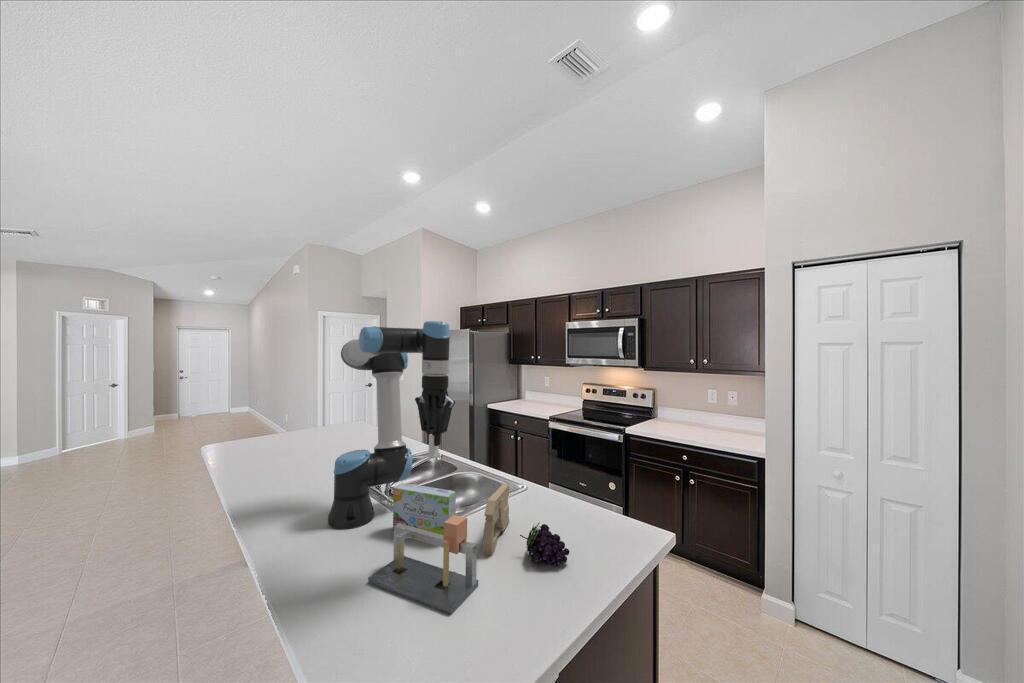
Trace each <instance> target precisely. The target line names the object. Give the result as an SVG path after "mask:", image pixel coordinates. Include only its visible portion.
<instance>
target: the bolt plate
mask: <svg viewBox="0 0 1024 683" xmlns="http://www.w3.org/2000/svg"><path fill="white" fill-rule="evenodd" d="M367 578H368V579H367V583H368V584H369V585H371V586H374V587H377V588H380V589H382V590H384V591H387V592H389V593H392V594H395V595H397V596H400V597H403V598H404V599H405V598H406V599H408V600H410V601H413V602H415V603H418V604H421V605H424V606H426V607H429V608H431V609H433V610H437V611H439V612H442V613H443V614H447V615H449V616H452V615H453V613H455V611H457V610H458V608H459V607H460V606H461V605H462V604H463V603H464V602H465V601H466V600H467V599H468V597H470V596H471V594H473V592H474V591H475V590H476V589H477V588H478V587H479V579H477V578H476V583H475V584H474V585H473V586H469V585H466V584H465V579H466V575H464V574H460V573H458V572H455V571H451V570H449V585H448V586H447V587H445V586H443V567H439V566H436V565H433V564H429V563H426V562H425V561H421V560H417V559H415V558H412V557H407V556H405V555H404V559H402V574H400V575H398V574H397V561H394V560H392V561H390V562H388V563H387V564H386V565H384V566H383V567H381V568H379V570H376V572H374V573H372V574H371V575H369V576H368V577H367ZM440 587H441V588H444V589H440Z"/></svg>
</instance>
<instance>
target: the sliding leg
mask: <svg viewBox="0 0 1024 683" xmlns="http://www.w3.org/2000/svg"><path fill="white" fill-rule="evenodd" d="M467 538H468V517H467V516H466V517H465V516H462V515H454V516H452V517H451V518H449V519H448V520H446V521H445V522H444V541H443V546H444V547H442V549H443V552H442V554H443V557H442V558H443V561H442V564H443V566H442V568H443V586H445V587H447V586H448V585H449V571H450V553H451V554H454V555H459V553H460V552H459V543H460V542H462V541H466V542H468V540H467Z"/></svg>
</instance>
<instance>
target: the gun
mask: <svg viewBox="0 0 1024 683" xmlns="http://www.w3.org/2000/svg"><path fill="white" fill-rule="evenodd" d="M509 497H510V483H509V484H508V483H501V485H500V486H499V487H498V488H497V489H496V491H494V492H493V493H492V494H491V495H490V497H488V498H487V500H486V506H485V510H484V513H483V514H484V517H485V519H484V520H485V521H484V529H483V539H482V545H483V546H482V547H483V555H484V556H485V555H486V556H493V555H494V552H495V549H496V547H497V542H498V541H497V539H498V537H499V535H500V534H501V533H503V532H504V531H505V529H506V527H507V526H508V524H509V522H510V516H509V514H510V512H509V511H510V505H509Z"/></svg>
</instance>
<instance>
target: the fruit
mask: <svg viewBox="0 0 1024 683" xmlns="http://www.w3.org/2000/svg"><path fill="white" fill-rule="evenodd" d="M540 523H541V521H539V522H537V524H536V525H535V523H534V524H533V526H532V528H531V529H530V530H529V533H528V537H525V536H523V535H522V534H519V536H520V537H522V539H526V548H525V549H526V553H528V559H529V560H531V559H532V561H533V562H534V563H540V562H541V560H545V563H547V564H549V565H551V564H552V563H553V565H554V566H558V565H560V564H566V563H567V561H568V557H567V556H569V554H570V549H569V548H567V547H566V543H565V542H564V541H562V540H561V535H559V534H557V533H555V534H554V533H552V532H551V531H550V527H549V526H548V524H546V523H543V524H541V526H540Z"/></svg>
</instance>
